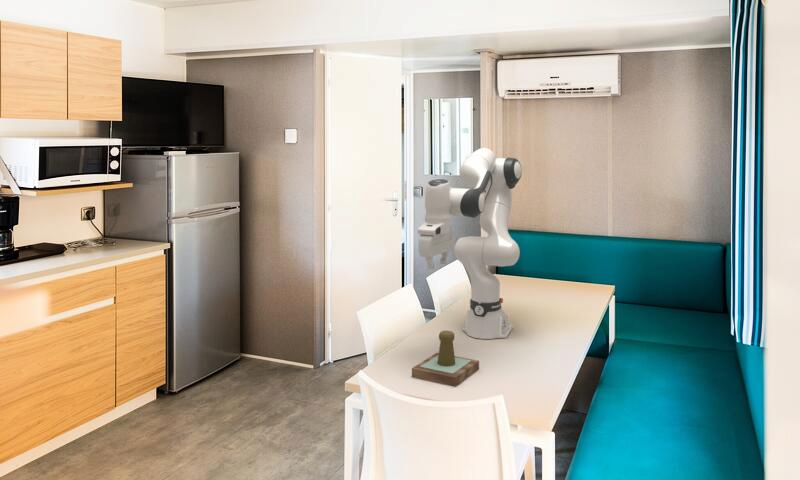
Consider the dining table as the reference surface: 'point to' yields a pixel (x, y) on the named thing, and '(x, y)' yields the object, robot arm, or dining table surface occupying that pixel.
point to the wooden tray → (445, 370)
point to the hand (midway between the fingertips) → (437, 266)
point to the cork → (446, 349)
